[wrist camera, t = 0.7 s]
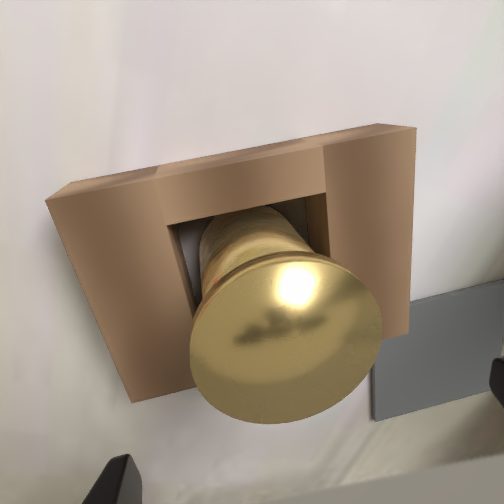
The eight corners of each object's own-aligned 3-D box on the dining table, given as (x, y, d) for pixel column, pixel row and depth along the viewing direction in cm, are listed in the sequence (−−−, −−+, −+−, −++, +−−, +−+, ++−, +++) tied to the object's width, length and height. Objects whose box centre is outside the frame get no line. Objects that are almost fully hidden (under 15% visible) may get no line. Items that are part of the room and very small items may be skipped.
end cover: (299, 182, 17) (382, 241, 9) (310, 288, 19) (382, 397, 12) (175, 207, 16) (165, 290, 9) (203, 313, 18) (213, 443, 11)
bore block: (377, 123, 16) (416, 127, 13) (378, 302, 20) (408, 333, 17) (70, 182, 15) (45, 200, 12) (139, 360, 19) (131, 403, 16)
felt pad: (508, 277, 21) (514, 280, 21) (489, 385, 25) (494, 389, 25) (370, 311, 20) (374, 315, 20) (372, 417, 24) (375, 421, 24)
